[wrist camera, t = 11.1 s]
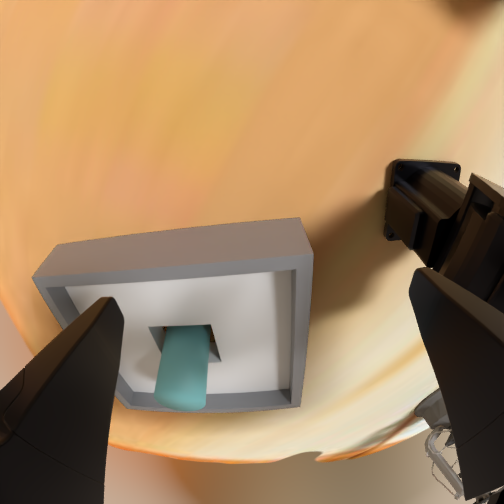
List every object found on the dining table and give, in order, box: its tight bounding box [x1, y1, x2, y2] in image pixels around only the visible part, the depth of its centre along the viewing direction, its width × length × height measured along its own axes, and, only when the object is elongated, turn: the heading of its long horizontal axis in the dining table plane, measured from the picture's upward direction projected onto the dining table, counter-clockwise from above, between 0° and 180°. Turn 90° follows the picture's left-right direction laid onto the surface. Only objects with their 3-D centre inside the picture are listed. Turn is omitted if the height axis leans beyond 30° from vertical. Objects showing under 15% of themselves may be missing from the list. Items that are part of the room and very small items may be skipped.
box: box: [32, 218, 314, 413], centre depth 24 cm, size 20×20×4 cm
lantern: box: [415, 388, 495, 504], centre depth 32 cm, size 18×20×30 cm
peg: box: [154, 324, 211, 411], centre depth 22 cm, size 4×4×8 cm
